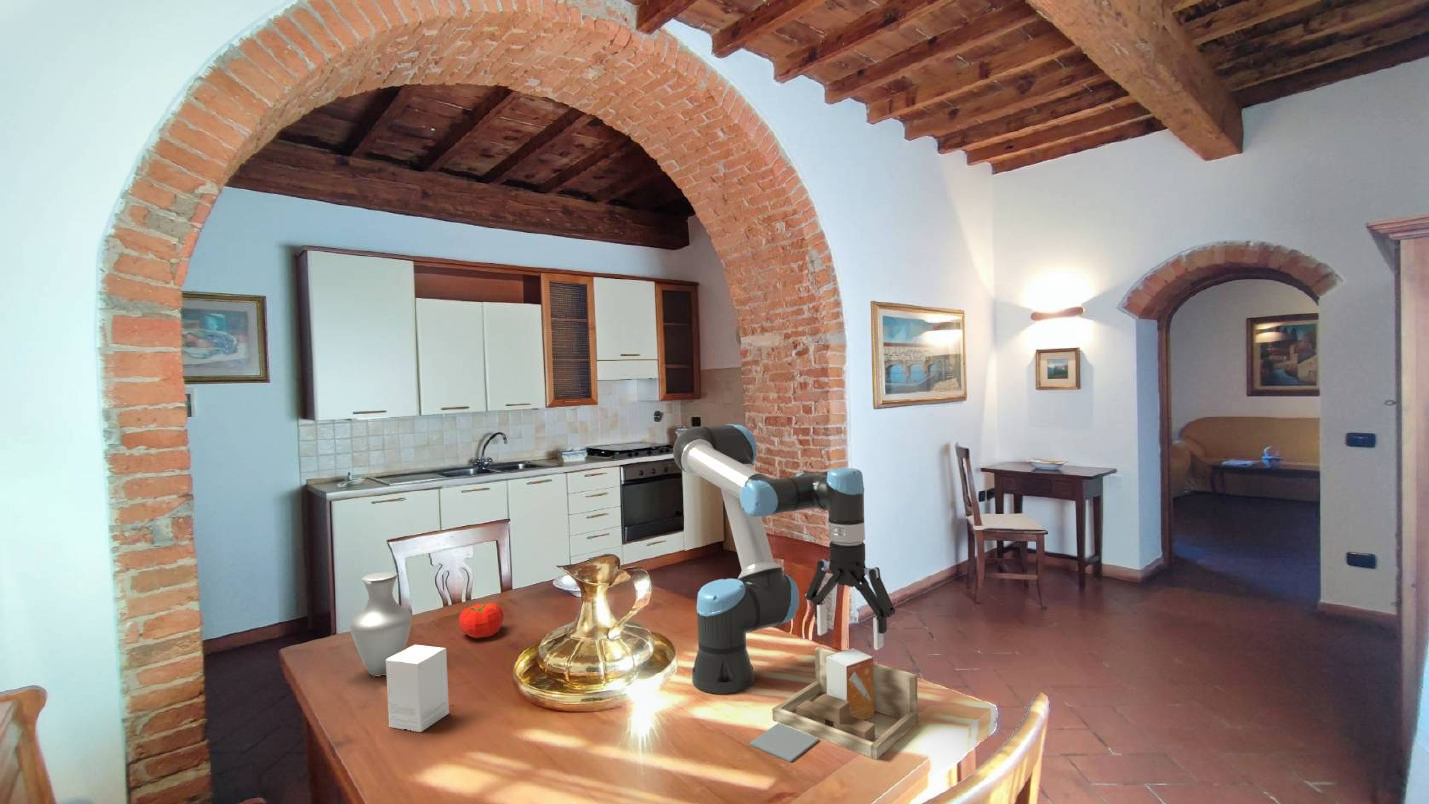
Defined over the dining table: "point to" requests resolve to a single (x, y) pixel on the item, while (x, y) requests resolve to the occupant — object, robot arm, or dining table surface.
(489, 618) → the tomato
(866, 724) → the offcut
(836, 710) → the offcut
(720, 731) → the dining table surface
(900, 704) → the tray
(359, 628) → the vase
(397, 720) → the supplement box
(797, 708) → the offcut
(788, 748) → the mat
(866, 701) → the small box
